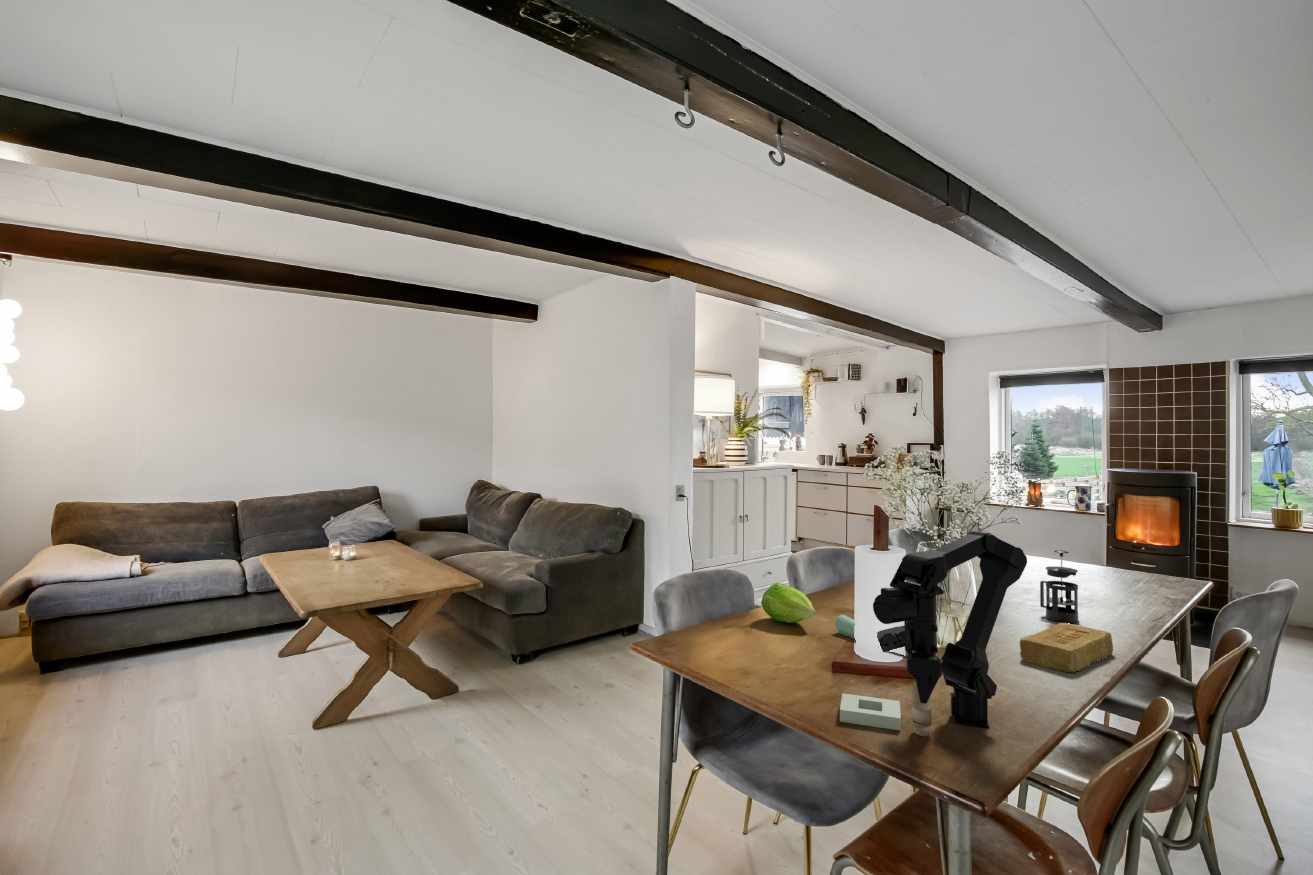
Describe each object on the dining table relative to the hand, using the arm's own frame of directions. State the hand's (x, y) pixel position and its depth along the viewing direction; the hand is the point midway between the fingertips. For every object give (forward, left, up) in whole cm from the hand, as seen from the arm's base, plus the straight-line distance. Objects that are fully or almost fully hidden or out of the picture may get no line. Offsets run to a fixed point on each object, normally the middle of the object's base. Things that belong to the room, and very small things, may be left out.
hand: (922, 693), depth 125 cm
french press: (-48, -103, -8) cm, 114 cm away
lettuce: (+36, -67, -8) cm, 76 cm away
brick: (-40, -62, -8) cm, 74 cm away
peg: (0, 0, -8) cm, 8 cm away
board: (+10, -4, -8) cm, 13 cm away
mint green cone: (+10, -55, -8) cm, 56 cm away
